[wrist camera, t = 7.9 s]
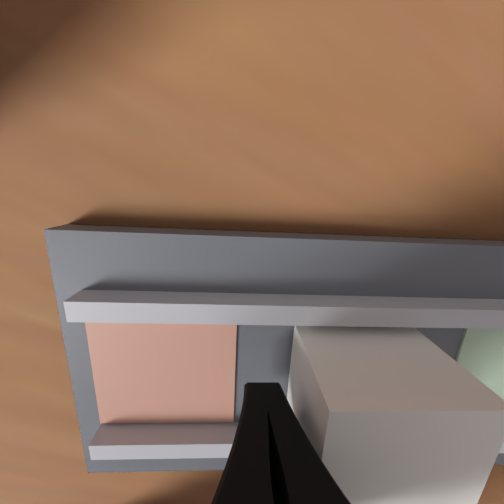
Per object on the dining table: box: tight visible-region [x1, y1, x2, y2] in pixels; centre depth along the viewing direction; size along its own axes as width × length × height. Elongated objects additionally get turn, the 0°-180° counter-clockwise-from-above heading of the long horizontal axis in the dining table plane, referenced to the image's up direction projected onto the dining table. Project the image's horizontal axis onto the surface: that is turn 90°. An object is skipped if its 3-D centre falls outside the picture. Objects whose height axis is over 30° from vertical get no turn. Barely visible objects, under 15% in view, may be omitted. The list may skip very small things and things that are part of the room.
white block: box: [287, 326, 504, 504], centre depth 9 cm, size 5×5×4 cm
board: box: [44, 224, 504, 473], centre depth 11 cm, size 12×26×3 cm, turn 87°
